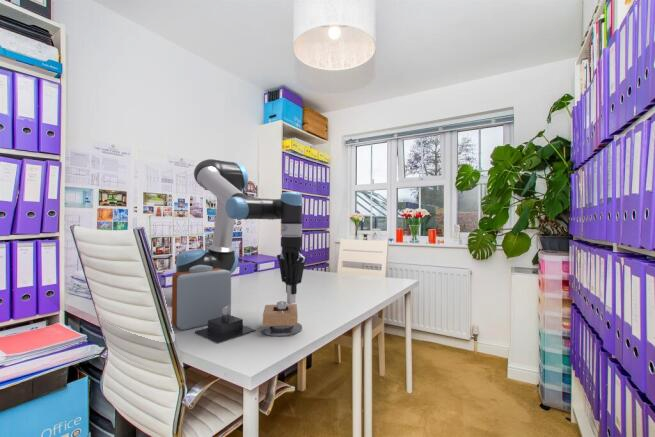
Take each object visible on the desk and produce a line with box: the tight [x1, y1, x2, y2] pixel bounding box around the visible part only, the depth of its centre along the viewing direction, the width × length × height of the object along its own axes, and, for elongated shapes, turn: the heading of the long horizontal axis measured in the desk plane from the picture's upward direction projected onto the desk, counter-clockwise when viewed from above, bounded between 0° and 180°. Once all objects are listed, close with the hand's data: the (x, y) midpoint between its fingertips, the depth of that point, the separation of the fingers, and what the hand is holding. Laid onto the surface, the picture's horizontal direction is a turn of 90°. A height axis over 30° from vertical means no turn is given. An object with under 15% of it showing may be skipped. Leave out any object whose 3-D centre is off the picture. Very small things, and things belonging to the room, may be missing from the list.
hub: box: [260, 300, 303, 338], centre depth 107 cm, size 14×14×9 cm
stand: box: [194, 305, 257, 344], centre depth 104 cm, size 14×14×8 cm
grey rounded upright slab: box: [171, 265, 232, 331], centre depth 113 cm, size 18×9×21 cm, turn 134°
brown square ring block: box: [262, 303, 298, 327], centre depth 106 cm, size 11×11×4 cm
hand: (291, 302), depth 110 cm, fingers closed
